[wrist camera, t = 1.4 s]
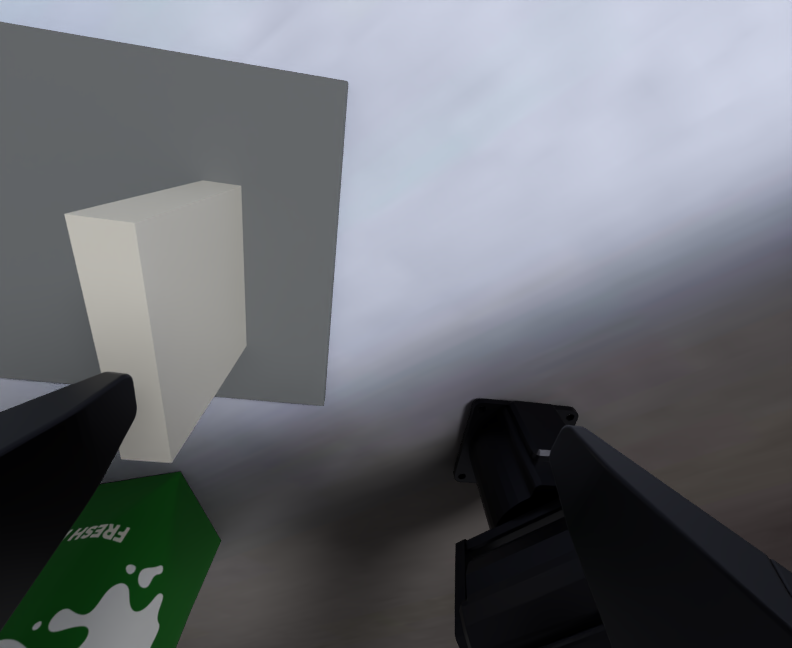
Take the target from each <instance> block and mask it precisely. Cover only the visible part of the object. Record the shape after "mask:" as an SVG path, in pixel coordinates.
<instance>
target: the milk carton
mask: <svg viewBox="0 0 792 648" xmlns="http://www.w3.org/2000/svg"><path fill="white" fill-rule="evenodd" d="M220 542H221V540H220V538H219V536H218V535H217V533H216V531H215V529H214V528H213V526H212V524H211V523H210V521H209V519H208V518H207V516H206V514H205V512H204V511H203V509H202V507H201V506H200V504H199V502H198V501H197V499H196V497H195V495H194V494H193V492H192V490H191V489H190V487H189V485H188V484H187V482H186V480H185V478H184V477H183V475H182V473H181V472H174V473H168V474H161V475H155V476H149V477H143V478H136V479H130V480H124V481H118V482H111V483H105V484H99V486H98V488H97V489H96V491H95V493H94V494H93V496H92V497H91V499H90V501H89V502H88V504H87V505H86V507H85V508H84V510H83V511H82V513H81V514H80V515H79V517H78V518H77V520H76V521H75V523H74V524H73V526H72V527H71V529H70V530H69V532H68V533H67V535H66V536H65V538H64V539H63V540H62V542H61V543H60V545H59V546H58V548H57V549H56V551H55V552H54V554H53V555H52V557H51V558H50V560H49V561H48V562H47V564H46V565H45V567H44V568H43V570H42V571H41V573H40V574H39V576H38V577H37V579H36V580H35V582H34V583H33V585H32V586H31V587H30V589H29V590H28V592H27V593H26V595H25V596H24V598H23V599H22V601H21V602H20V604H19V605H18V607H17V608H16V610H15V611H14V612H13V614H12V615H11V617H10V618H9V620H8V621H7V623H6V624H5V626H4V627H3V629H2V630H1V632H0V648H176V646H177V644H178V641H179V639H180V636H181V634H182V631H183V629H184V626H185V624H186V621H187V619H188V616H189V614H190V611H191V609H192V607H193V604H194V602H195V600H196V598H197V595H198V593H199V591H200V588H201V586H202V584H203V581H204V579H205V577H206V575H207V572H208V570H209V568H210V565H211V563H212V561H213V558H214V556H215V554H216V551H217V549H218V547H219V545H220Z"/></svg>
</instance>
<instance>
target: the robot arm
mask: <svg viewBox="0 0 792 648" xmlns="http://www.w3.org/2000/svg"><path fill="white" fill-rule="evenodd" d="M481 406H484V407H483V408H482V409H479V407H481ZM136 413H137V403H136V396H135V389H134V382H133V378H132V377H131V376H130V375H129V374H126V373H118V372H103V373H100V374H98V375H95V376H92V377H90V378H87V379H85V380H82V381H79V382H77V383H74V384H72V385H69V386H67V387H64V388H61V389H59V390H56V391H54V392H51V393H49V394H46V395H43V396H41V397H38V398H36V399H33V400H30V401H28V402H25V403H23V404H20V405H18V406H15V407H12V408H10V409H7V410H5V411H2V412H0V632H1V630H2V629H3V627H4V626H5V624H6V623H7V621H8V620H9V618H10V617H11V615H12V614H13V612H14V611H15V610H16V608H17V607H18V605H19V604H20V602H21V601H22V599H23V598H24V596H25V595H26V593H27V592H28V590H29V589H30V587H31V586H32V585H33V583H34V582H35V580H36V579H37V577H38V576H39V574H40V573H41V571H42V570H43V568H44V567H45V565H46V564H47V562H48V561H49V560H50V558H51V557H52V555H53V554H54V552H55V551H56V549H57V548H58V546H59V545H60V543H61V542H62V540H63V539H64V538H65V536H66V535H67V533H68V532H69V530H70V529H71V527H72V526H73V524H74V523H75V521H76V520H77V518H78V517H79V515H80V514H81V513H82V511H83V510H84V508H85V507H86V505H87V504H88V502H89V501H90V499H91V497H92V496H93V494H94V493H95V491H96V489H97V488H98V486H99V484H100V482H101V481H102V479H103V477H104V475H105V473H106V471H107V470H108V468H109V466H110V464H111V462H112V460H113V458H114V457H115V455H116V453H117V451H118V449H119V447H120V445H121V444H122V442H123V440H124V438H125V436H126V434H127V432H128V431H129V429H130V427H131V425H132V423H133V421H134V419H135V417H136ZM569 414H570V415H569ZM567 415H569V416H567ZM577 419H578V413H577V412H576V410H575V409H574V408H573V407H568V406H557V405H552V404H542V403H531V402H521V401H503V400H492V399H478V400H476V401H474V403H473V404H472V408H471V411H470V415H469V418H468V422H467V425H466V429H465V432H464V436H463V439H462V443H461V447H460V450H459V454H458V457H457V461H456V464H455V468H454V471H453V473H454V478H455V480H456V481H458V482H469V483H477V486H478V489H479V493H480V496H481V500H482V503H483V507H484V510H485V514H486V518H487V521H488V525H489V528H490V530H488V531H486V532H484V533H482V534H480V535H477V536H475V537H473V538H471V539H469V540H466V539H464V540H462V541H460V542H458V543H456V554H455V637H456V641H457V643H458V646H459V648H792V573H791V572H790V571H789V570H787V569H786V568H784V567H783V566H781V565H780V564H779V563H777V562H776V561H774V560H772V559H769V558H768V556H767V555H766V554H764V553H763V552H761V551H760V550H758V549H757V548H756V547H754V546H753V545H751V544H750V543H749V542H747V541H746V540H744V539H743V538H741V537H740V536H739V535H737V534H736V533H734V532H733V531H731V530H730V529H729V528H727V527H726V526H724V525H723V524H721V523H720V522H719V521H717V520H716V519H714V518H713V517H711V516H710V515H709V514H707V513H706V512H704V511H703V510H701V509H700V508H699V507H697V506H696V505H694V504H693V503H691V502H690V501H689V500H687V499H686V498H684V497H683V496H682V495H680V494H679V493H677V492H676V491H674V490H673V489H672V488H670V487H669V486H667V485H666V484H664V483H663V482H662V481H660V480H659V479H657V478H656V477H654V476H653V475H652V474H650V473H649V472H647V471H646V470H644V469H643V468H642V467H640V466H639V465H637V464H636V463H634V462H633V461H632V460H630V459H629V458H627V457H626V456H624V455H623V454H622V453H620V452H619V451H617V450H616V449H615V448H613V447H612V446H610V445H609V444H607V443H606V442H605V441H603V440H602V439H600V438H599V437H597V436H596V435H595V434H593V433H592V432H590V431H589V430H587V429H586V428H584V427H581V426H575V424H576V421H577Z"/></svg>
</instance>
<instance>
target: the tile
mask: <svg viewBox="0 0 792 648" xmlns="http://www.w3.org/2000/svg"><path fill="white" fill-rule="evenodd" d="M64 215H65V220H66V224H67V228H68V232H69V237H70V241H71V245H72V250H73V254H74V258H75V263H76V267H77V271H78V275H79V280H80V284H81V288H82V293H83V297H84V301H85V306H86V310H87V314H88V318H89V323H90V327H91V331H92V336H93V340H94V344H95V348H96V353H97V357H98V361H99V366H100V370H101V373H103V372H118V373H126V374H129V375H130V376H131V377H132V378H133V382H134V389H135V396H136V403H137V413H136V417H135V419H134V421H133V423H132V425H131V427H130V429H129V431H128V432H127V434H126V436H125V438H124V440H123V442H122V444H121V445H120V447H119V452H120V456H121V460H136V461H150V462H164V463H172V462H173V461H174V459H175V457H176V456H177V454H178V453H179V451H180V450H181V448H182V446H183V445H184V443H185V442H186V440H187V439H188V437H189V435H190V434H191V432H192V431H193V429H194V428H195V426H196V424H197V423H198V421H199V420H200V418H201V417H202V415H203V413H204V412H205V410H206V409H207V407H208V406H209V404H210V402H211V401H212V399H213V398H214V396H215V395H216V393H217V391H218V390H219V388H220V387H221V385H222V384H223V382H224V380H225V379H226V377H227V376H228V374H229V373H230V371H231V369H232V368H233V366H234V365H235V363H236V362H237V360H238V358H239V357H240V355H241V354H242V352H243V351H244V349H245V347H246V346H247V342H246V313H245V283H244V253H243V223H242V194H241V186H240V185H232V184H225V183H218V182H211V181H204V180H202V181H198V182H194V183H190V184H186V185H182V186H177V187H173V188H169V189H165V190H161V191H157V192H153V193H148V194H144V195H140V196H136V197H132V198H128V199H124V200H120V201H115V202H111V203H107V204H103V205H99V206H95V207H91V208H86V209H82V210H78V211H74V212H70V213H66V214H64Z"/></svg>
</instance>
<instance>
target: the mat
mask: <svg viewBox="0 0 792 648" xmlns="http://www.w3.org/2000/svg"><path fill="white" fill-rule="evenodd" d="M347 94H348V82H347V81H343V80H337V79H332V78H326V77H320V76H314V75H308V74H302V73H297V72H291V71H285V70H279V69H273V68H267V67H261V66H256V65H250V64H244V63H238V62H232V61H226V60H221V59H215V58H209V57H203V56H197V55H191V54H185V53H180V52H174V51H168V50H162V49H156V48H150V47H145V46H139V45H133V44H127V43H121V42H115V41H110V40H104V39H98V38H92V37H86V36H80V35H74V34H69V33H63V32H57V31H51V30H45V29H39V28H34V27H28V26H22V25H16V24H10V23H4V22H0V378H7V379H19V380H30V381H42V382H53V383H65V384H74V383H77V382H79V381H82V380H85V379H87V378H90V377H92V376H95V375H98V374H100V373H101V370H100V366H99V361H98V357H97V353H96V348H95V344H94V340H93V336H92V331H91V327H90V323H89V318H88V314H87V310H86V306H85V301H84V297H83V293H82V288H81V284H80V280H79V275H78V271H77V267H76V263H75V258H74V254H73V250H72V245H71V241H70V237H69V232H68V228H67V224H66V220H65V215H64V214H66V213H70V212H74V211H78V210H82V209H86V208H91V207H95V206H99V205H103V204H107V203H111V202H115V201H120V200H124V199H128V198H132V197H136V196H140V195H144V194H148V193H153V192H157V191H161V190H165V189H169V188H173V187H177V186H182V185H186V184H190V183H194V182H198V181H202V180H204V181H211V182H218V183H225V184H232V185H240V186H241V194H242V223H243V253H244V283H245V313H246V342H247V346H246V347H245V349H244V351H243V352H242V354H241V355H240V357H239V358H238V360H237V362H236V363H235V365H234V366H233V368H232V369H231V371H230V373H229V374H228V376H227V377H226V379H225V380H224V382H223V384H222V385H221V387H220V388H219V390H218V391H217V393H216V395H215V396H214V397H226V398H237V399H249V400H260V401H272V402H283V403H295V404H306V405H318V406H324V401H325V390H326V377H327V363H328V350H329V336H330V323H331V309H332V296H333V282H334V269H335V255H336V242H337V228H338V215H339V201H340V188H341V174H342V161H343V147H344V134H345V120H346V107H347Z"/></svg>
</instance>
